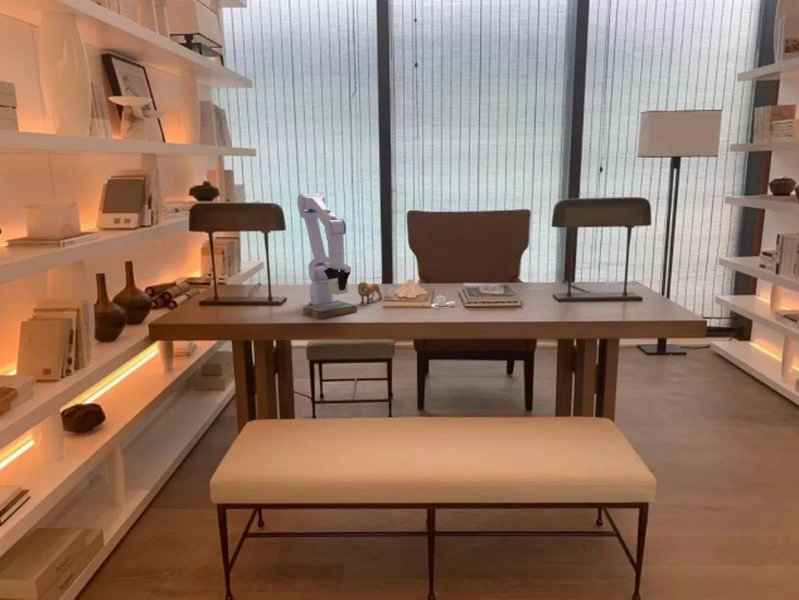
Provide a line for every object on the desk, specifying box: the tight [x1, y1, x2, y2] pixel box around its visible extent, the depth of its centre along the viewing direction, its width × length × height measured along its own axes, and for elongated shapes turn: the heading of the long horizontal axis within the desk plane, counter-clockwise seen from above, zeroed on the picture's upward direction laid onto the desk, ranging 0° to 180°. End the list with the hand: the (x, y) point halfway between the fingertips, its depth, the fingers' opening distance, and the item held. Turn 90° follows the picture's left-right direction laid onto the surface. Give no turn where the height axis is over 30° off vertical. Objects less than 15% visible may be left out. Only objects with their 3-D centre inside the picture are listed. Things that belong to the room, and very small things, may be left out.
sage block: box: [328, 278, 349, 296], centre depth 233 cm, size 5×5×5 cm
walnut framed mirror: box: [302, 300, 358, 321], centre depth 235 cm, size 12×16×2 cm
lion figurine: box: [357, 281, 383, 305], centre depth 251 cm, size 15×5×9 cm, turn 152°
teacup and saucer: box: [430, 295, 456, 309], centre depth 242 cm, size 9×8×4 cm
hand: (337, 288), depth 234 cm, fingers closed on sage block, 5 cm apart
